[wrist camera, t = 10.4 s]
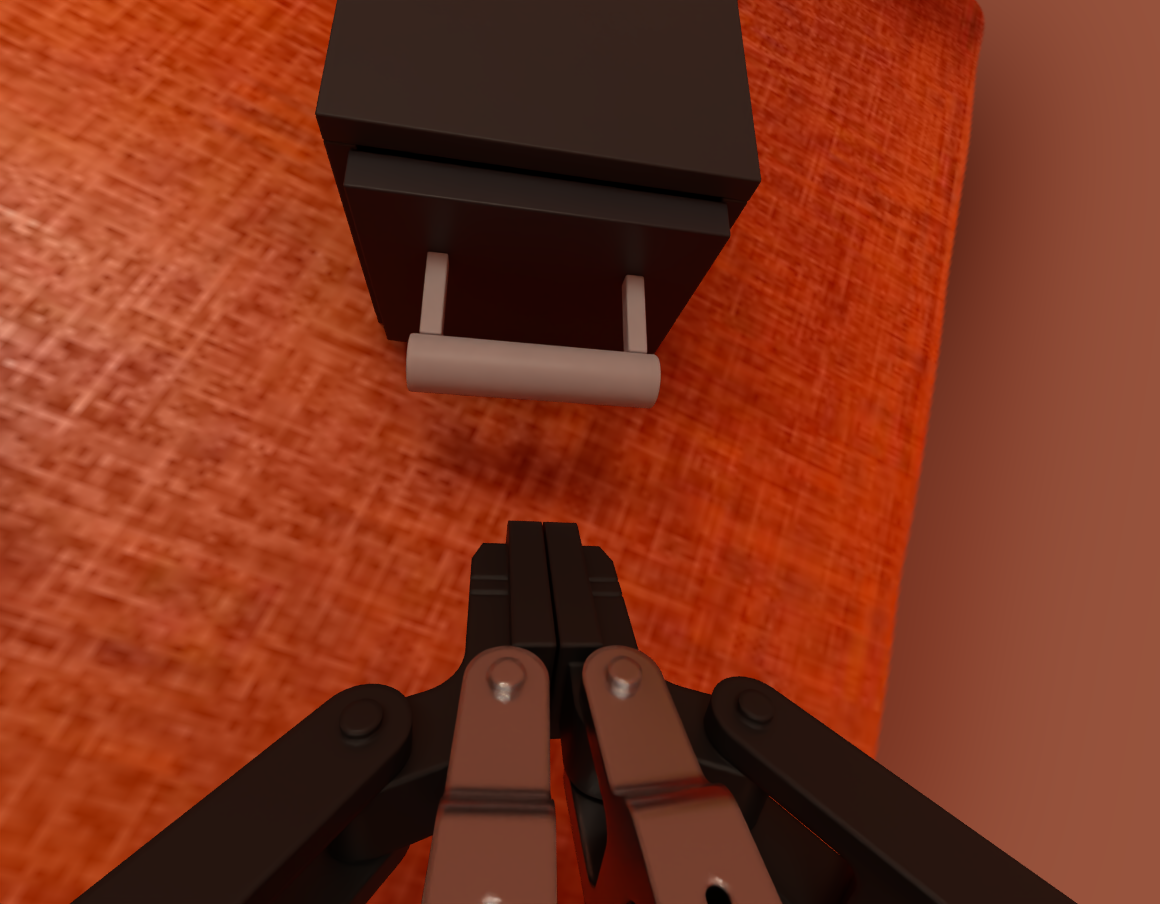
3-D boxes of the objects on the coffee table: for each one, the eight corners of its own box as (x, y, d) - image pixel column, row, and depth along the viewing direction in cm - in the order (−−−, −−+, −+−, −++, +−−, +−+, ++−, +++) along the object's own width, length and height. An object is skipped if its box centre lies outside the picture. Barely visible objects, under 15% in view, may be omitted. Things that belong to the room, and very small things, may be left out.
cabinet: (654, 348, 24) (762, 181, 15) (378, 323, 22) (313, 113, 13) (642, 114, 28) (721, -126, 19) (409, 75, 26) (377, -213, 17)
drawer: (653, 461, 21) (746, 374, 14) (374, 447, 20) (316, 337, 12) (638, 131, 27) (700, -56, 19) (416, 95, 25) (393, -127, 18)
